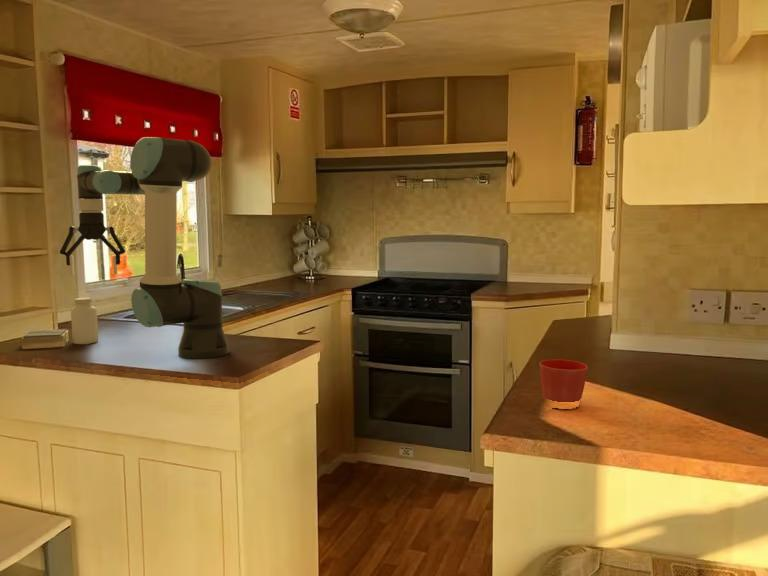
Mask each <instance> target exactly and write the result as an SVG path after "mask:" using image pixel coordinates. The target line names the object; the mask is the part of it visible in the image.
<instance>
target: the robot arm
mask: <svg viewBox="0 0 768 576" xmlns="http://www.w3.org/2000/svg"><path fill="white" fill-rule="evenodd" d="M129 165H130V170H131V171H124V170H123V171H120V170H118V171H117V170H110V169H102V168H101V166H99V165H92V164H91V165H90V164H84V165H78V166H77V170H76V171H77V172H76V173H77V174H76V180H77V194H78V195H77V197H78V211H80V213H79V214H78V218H79V225H78V227H76V226H73V225H72V226H69V228H68V234H67V236H66V238H65V240H64V242H63V245H62V247H61V248H60V251H59V254H61V255H64V256H65V261H66V266H69V269H70V270H69V271H70V273H69V274H70V276H75V263H74V261H75V260H74V259H75V257H74V255H72V254H73V253H74V252H75V250H76V249H77V248H78V247H79V246H80V245H81V244H82V243H83V241H85V240H87V241H88V240H89V241H90V240H93V241H98V240H101V242H103V243H104V244H105V245H106V246H107V247H108V248H109V250H111V252H112V253H113V256H112V259H113V275H114V276H116V275H118V265H119V266H120V264H121V255H122V254H123V255H124V254H125V253H126V250H125V247H124V246H123V244H122V242H121V241H120V239H119V237H118V235H117V234H116V231H115V227H114V226H106V227H105V217H104V213H103V212H104V197H103V196H104V195H139V196H140V195H142V196H143V195H144V251H145V252H144V256H145V257H144V259H145V260H144V263H145V264H144V272H145V273H144V275H143V276H142V277H141V279H139V287H137V288H135V289H134V290H133V291H132V293H131V296H130V297H131V298H130V301H131V307H132V308H131V309H132V311H133V314H134V316H135V318H136V320H137V321H138V322H139V324H141V325H142V326H143V327H146V328H155V327H156V328H161V327H163V326H165V327H166V326H173V325H179V324H183V331H182V335H181V338H180V341H179V345H178V352H177V353H178V356H179V357H181V358H183V359H184V358H185V359H195V360H196V359H197V360H198V359H210V358H211V359H212V358H219V357H222V356H226V355H228V354H229V352H230V349H229V343H228V340H227V337H226V334H225V332H224V329H223V302H222V301H223V299H222V298H223V293H222V286H221V284H220V283H219V282H217V281H213V280H203V279H202V280H201V279H187V278H184V279H181V278H180V277H179V276H178V274H177V222H178V221H177V215H178V213H177V211H178V210H177V209H178V208H177V207H178V206H177V204H178V203H177V201H178V200H177V197H178V196H177V195H178V194H177V193H178V192H179V191H180V190H181V189H182V188H183V182H186V183H187V182H188V183H193V182H197V181H200V180H202V179H204V178H206V177H207V176H208V174H209V173H210V171H211V169H212V158H211V155H210V152H209V151H208V150H207V149H206V148H205V146H204V145H202V144H200V143H199V142H196V141H193V140H188V139H176V138H168V137H167V138H166V137H159V136H158V137H157V136H153V137H152V136H150V137H149V136H146V137H145V136H144V137H141V138H140V139H139V140H138V141H137V142H136V143H135V145H134V146H133V147H132V151H131V155H130V164H129ZM106 231H107V233H108V234H110V235H111V238H112V240H113V241H114V243H115V244H116V246H117V248H118V249H119V250H118V249H117V248H116V247H115V246H114V245H113V244H112V243H111V242H110V240H108V239H107V237H106V236H105V235H104V234H105V232H106ZM77 232H79V233H80V234H81V235H80V236H79V237H78V239H77V240H76V241H75V242H74V243H73V244H72V245H71V247H70V248H69V249H68V247H69V245H70V243H71V241H72V239H73V237H74V235H75V234H76V233H77ZM67 249H68V250H67Z"/></svg>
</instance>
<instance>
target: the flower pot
mask: <svg viewBox="0 0 768 576" xmlns="http://www.w3.org/2000/svg"><path fill="white" fill-rule="evenodd" d="M538 365H539V375H540V383H541V392H542V395H543V397H544V398H546V399H549V400H552V401H557V402H575V401H579V400H580V399H581V400H582V397H583V394H584V389H585V384H586V380H587V376H588V371H589V367H588V365H587V364H586V363H584V362H580V361H577V360H569V359H561V358H560V359H559V358H558V359H555V358H554V359H545V360H541V361H540V362H539V364H538ZM544 398H543V399H544ZM569 410H570V411H572V410H573V411H574V410H575V409H568V410H567V411H569ZM560 411H565V410H564V409H560Z"/></svg>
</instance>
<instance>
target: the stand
mask: <svg viewBox="0 0 768 576" xmlns="http://www.w3.org/2000/svg"><path fill="white" fill-rule="evenodd" d="M69 332H70V331H69V329H67V328H57V329H55V328H54V329H39V330H38V329H37V330H36V329H35V330H32V329H31V330H29V332H27V333H26V334H25V335H23V336H22V337H21V350H29V349H44V348H45V349H48V348H49V349H50V348H62V347H65V345H66V344H67V343H68V341H69V340H70V339H69V338H70V337H69Z"/></svg>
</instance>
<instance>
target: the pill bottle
mask: <svg viewBox="0 0 768 576" xmlns="http://www.w3.org/2000/svg"><path fill="white" fill-rule="evenodd" d="M73 300H74V302H73V303H74V306H73V307H72V308H71V310H70V317H71V319H70V321H71V335H72V336H71V337H72V343H73V344H74V345H89V344H94V343H97V342H98V341H99V328H98V327H99V325H98V311H97V307H96V306H94V305H92V304H93V303H92V301H93V300H92V297H78V298H75V299H73Z"/></svg>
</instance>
